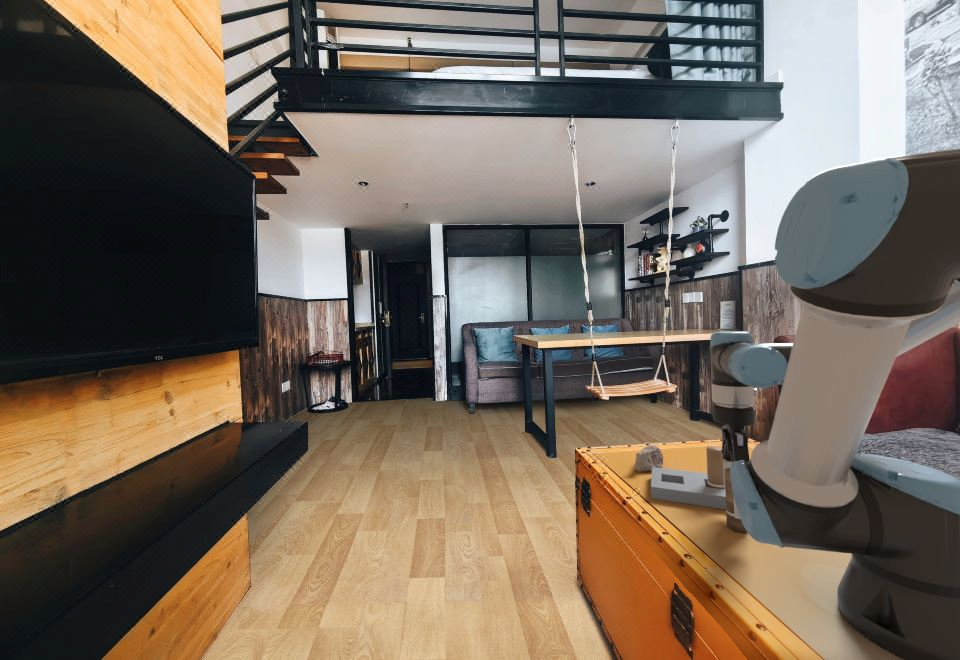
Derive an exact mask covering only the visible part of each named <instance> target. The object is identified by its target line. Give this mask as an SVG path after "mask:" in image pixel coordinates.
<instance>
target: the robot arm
mask: <svg viewBox="0 0 960 660" xmlns="http://www.w3.org/2000/svg"><path fill="white" fill-rule="evenodd" d="M774 250H776V251H777V252H776V255H775V256H774V262H775V268H776V271H777V273H778V276H779V278H780V279H781V280H783V282H784V283H785V284H787V285H789V286H790V287H789V292H790V295H791V296H792V297H793V298H794V299H795V300H797V301H798V303H800V304H801V305H802V308H801V312H800V316H799V318H798V323H797V328H796V331H795V335H794V338H793V342H782V343H781V342H780V343H779V342H778V343H777V342H776V343H773V342H772V343H770V342H769V343H754V338H753V334H752V333H751V332H749V331H741V330H740V331H738V330H737V331H734V330H733V331H715V332H713V333H712V334H711V335H710V342H709V343H710V345H709V351H710V352H709V353H710V366H711V367H710V368H711V369H710V370H711V372H710V373H711V401H712V402H713V404H712V419H713V421H714V422H715V423H718V424H721V425H722V428H721V433H722V434H721V436H722V438H721V448H722V450H721V452H722V454H723V459H725V460H726V461H725V460H723V469H724V489H725V469H727V468H730V477H731V483H730V485H731V486H732V490H733V494H734V517H735V518H737V519H741V520H742V523H743V525H744V527H745V529H746V531H747V534H748V535H749V537H750V538H752V539H753V540H754V541H756V542H758V543H759V544H767V545H772V546H778V547H779V548H793V549H803V550H813V551H820V552H821V551H822V552H833V553H844V554H851V558H850V561H849V562H848V565H847V567H846V569H845V571H844V573H843V574H842V577H841V579H840V582H839V584H838V586H837V589H836V590H837V591H836V592H837V593H836V594H837V606H838V609H839V612H840V613H841V615H842V616H843V618H845V620H846V621H847V622H848V623H849V624H850V625H851V626H852V627H853V628H854V629H855V630H856V631H858V632H859V633H861V634H862V636H864V637H866V638H867V639H869V640H871V641H872V642H873V643H875V644H877V645H878V646H880V647H882V648H884V649H886V650H887V651H888V652H891V653H893V654H895V655H897V656H898V657H900V658H903V659H904V660H960V479H959V477H955V476H954V475H951V474H949V473H946V472H944V471H942V470H938V469H936V468H933V467H930V466H926V465H923V464H919V463H915V462H912V461H907V460H903V459H899V458H895V457H889V456H885V455H878V454H871V453H857V452H858V449H859V448H860V447H859V446H860V444H861V442H862V440H863V437H864V435H865V432H866V430H867V428H868V426H869V423H870V421H871V418H872V416H873V413H874V411H875V409H876V407H877V403H878V401H879V399H880V397H881V394H882V391H883V389H884V387H885V385H886V382H887V380H888V378H889V375H890V372H891V371H892V368H893V366H894V363H895V361H896V358H898V357H899V356H901V355H903V354H905V353H907V352H909V351H911V350H913V349H914V348H916V347H917V346H919V345H922V344H924V343H926V341H929V340H931V339H933V338H935V337H936V336H939V335H940V334H941V333H944V332H946V331H948V330H949V329H952V328H954V327H955V326H957V325H959V324H960V148H953V149H946V150H937V151H929V152H921V153H914V154H905V155H898V156H890V157H874V158H871V159H868V160H865V161H863V162H858V163H851V164H847V165H840V166H835V167H832V168H829V169H826V170H823V171H821V172H819V173H817V174H816V175H814V176H813V177H812V178H810V179H808V180H807V181H806V182H805V184H804V185H803V186H802V187H800V188H799V189H798V190H797V191H796V192H795V194H794V195H793V196H792V198H791V199H790V201H789V203H788V204H787V206H786V208H785V210H784V211H783V213H782V216H781V219H780V222H779V224H778V227H777V233H776V237H775V242H774ZM777 385H782V386H781V389H780V393H779V396H778V401H777V406H776V408H775V413H774V417H773V422H772V426H771V429H770V433H769V436H768V437H769V438H768V439H766V440H763V441H761V442H760V443H758V444H756V445H755V446H754V448H753V449H752V452H751V456H750V453H749V451H750V450H749V441H748V440H749V437H748V434H747V433H745V430H744V429H743V428H744V427H746V426H747V427H752V426H754V425H755V424H756V422H757V421H756V407H755V406H754V404H755V402H756V401H755V394H758V391H759V390H758V389H757V388H759V389H766V388H771V387H775V386H777Z"/></svg>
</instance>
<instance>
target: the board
mask: <svg viewBox="0 0 960 660" xmlns="http://www.w3.org/2000/svg"><path fill="white" fill-rule="evenodd" d="M721 450H722V446H713V445H709V446H706V449H705V451H706V470H707V472H698V471H689V470H682V469H681V470H680V469H672V468H665V467H664V468H663V467H662V468H656V467H652V470H651V477H650V478H651V480H650V497H651V498H650V499H652V500H657V501H666V502H672V503H677V504H678V503H679V504H685V505H686V504H687V505H693V506H698V507H705V508H713V509H719V510H725V511H726V493H725V489H724V469H723V460H725V459H723V454H722V452H721ZM725 461H726V460H725Z"/></svg>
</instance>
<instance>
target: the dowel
mask: <svg viewBox="0 0 960 660" xmlns="http://www.w3.org/2000/svg"><path fill="white" fill-rule="evenodd" d="M730 483H731V477H730V468H727V469H725V493H726V510H725V515H726V527H727V528H728V529H729V530H731V531H733V532H736V533H740V534H741V533H742V534H746V533H747V534H748V532H747V531H746V529H745V527H744V525H743V523H742V520H741V519H737V518H735V517H734V494H733V490H732V486H731V485H730Z"/></svg>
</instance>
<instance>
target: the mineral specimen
mask: <svg viewBox="0 0 960 660" xmlns="http://www.w3.org/2000/svg"><path fill="white" fill-rule="evenodd" d="M635 456H636V457H635V461H634V462H635V463H634V470H635V471H636V472H639V473H641V472H652V467H656V468H663V465H664V456H663V453H662V449H660V447H659V446H656V445H653V444H651V445H647V446H644V447H643V448H642V449H640V451H639V452H636V453H635Z"/></svg>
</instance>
